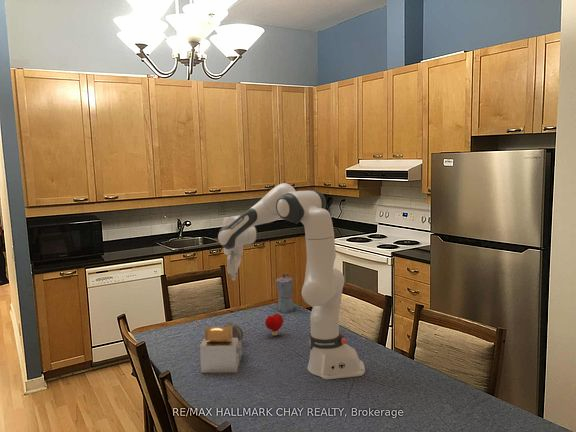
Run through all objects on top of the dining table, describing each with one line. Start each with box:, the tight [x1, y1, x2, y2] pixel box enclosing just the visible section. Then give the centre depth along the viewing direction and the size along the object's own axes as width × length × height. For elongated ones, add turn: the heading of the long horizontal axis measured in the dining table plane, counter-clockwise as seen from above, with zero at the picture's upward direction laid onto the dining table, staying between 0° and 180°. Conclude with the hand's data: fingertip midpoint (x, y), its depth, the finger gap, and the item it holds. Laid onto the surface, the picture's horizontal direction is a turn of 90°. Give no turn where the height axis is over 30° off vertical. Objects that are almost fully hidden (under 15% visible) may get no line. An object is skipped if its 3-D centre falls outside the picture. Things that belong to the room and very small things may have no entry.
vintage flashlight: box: [223, 321, 244, 341], centre depth 218 cm, size 12×8×10 cm
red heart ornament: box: [265, 313, 284, 337], centre depth 228 cm, size 9×7×10 cm
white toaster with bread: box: [199, 326, 243, 374], centre depth 200 cm, size 14×17×17 cm
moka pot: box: [275, 273, 295, 313], centre depth 263 cm, size 10×15×20 cm, turn 171°
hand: (234, 278), depth 228 cm, fingers open, 5 cm apart
